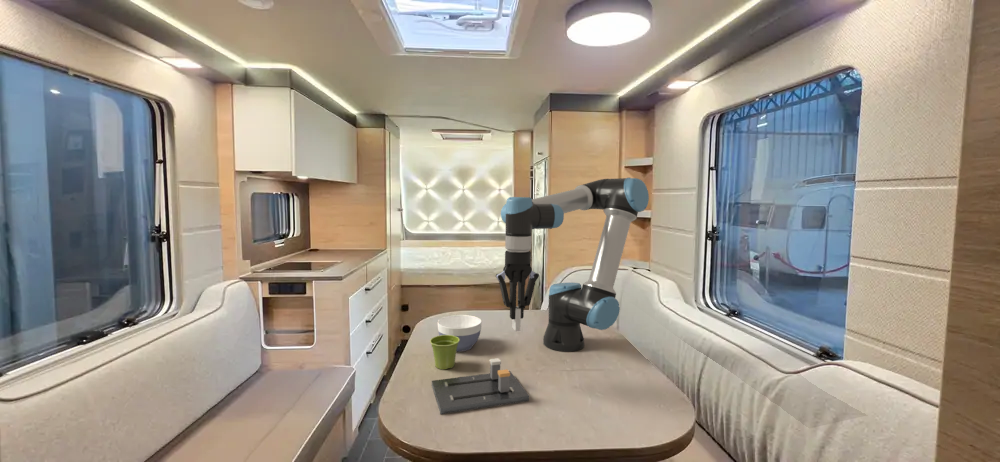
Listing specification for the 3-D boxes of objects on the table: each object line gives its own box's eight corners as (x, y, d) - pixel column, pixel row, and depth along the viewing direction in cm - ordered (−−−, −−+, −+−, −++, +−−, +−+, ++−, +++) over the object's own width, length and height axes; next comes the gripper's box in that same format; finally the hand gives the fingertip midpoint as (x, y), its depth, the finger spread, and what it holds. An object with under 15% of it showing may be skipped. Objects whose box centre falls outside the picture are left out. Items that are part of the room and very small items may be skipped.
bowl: (489, 344, 149) (490, 319, 149) (463, 359, 136) (463, 331, 135) (456, 336, 158) (456, 312, 157) (428, 348, 145) (428, 322, 144)
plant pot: (454, 373, 125) (454, 346, 124) (425, 370, 127) (425, 343, 126) (462, 361, 134) (463, 336, 133) (436, 358, 136) (436, 333, 135)
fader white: (498, 375, 120) (498, 358, 119) (500, 378, 117) (501, 361, 117) (489, 376, 119) (489, 359, 118) (491, 380, 117) (491, 362, 116)
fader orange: (506, 387, 112) (507, 369, 112) (509, 391, 110) (510, 372, 109) (497, 388, 111) (497, 370, 111) (500, 393, 109) (500, 374, 108)
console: (509, 375, 124) (509, 369, 124) (529, 400, 109) (529, 394, 109) (431, 385, 117) (431, 379, 116) (440, 414, 101) (440, 407, 101)
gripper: (533, 248, 122) (532, 323, 124) (492, 249, 118) (491, 327, 120) (543, 251, 115) (541, 331, 117) (500, 252, 111) (499, 335, 113)
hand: (516, 329), depth 119 cm, fingers closed
